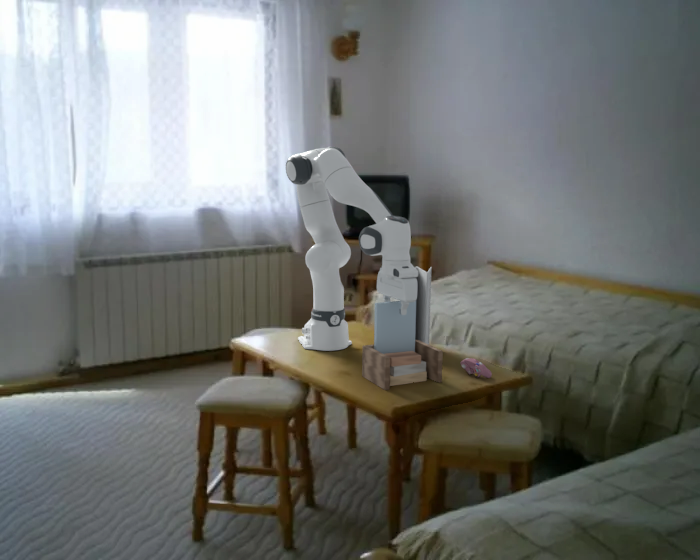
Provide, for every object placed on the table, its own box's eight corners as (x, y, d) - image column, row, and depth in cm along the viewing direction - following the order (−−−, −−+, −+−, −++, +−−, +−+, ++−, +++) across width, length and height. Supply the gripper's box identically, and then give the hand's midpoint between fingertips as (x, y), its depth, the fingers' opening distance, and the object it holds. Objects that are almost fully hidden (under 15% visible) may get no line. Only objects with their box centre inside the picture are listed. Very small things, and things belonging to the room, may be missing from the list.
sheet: (373, 377, 232) (374, 302, 228) (411, 371, 238) (413, 299, 234) (375, 378, 230) (377, 303, 226) (414, 373, 236) (416, 300, 232)
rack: (362, 376, 232) (362, 345, 231) (416, 369, 241) (417, 339, 239) (384, 390, 219) (385, 357, 217) (441, 382, 227) (442, 350, 226)
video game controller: (462, 376, 238) (456, 359, 236) (471, 368, 240) (465, 351, 237) (484, 384, 230) (478, 367, 228) (494, 376, 232) (487, 358, 230)
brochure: (425, 357, 255) (427, 272, 250) (409, 356, 256) (411, 272, 251) (429, 347, 268) (431, 266, 263) (414, 346, 269) (416, 266, 264)
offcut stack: (379, 380, 229) (380, 354, 228) (415, 375, 235) (416, 349, 233) (390, 386, 223) (391, 359, 221) (427, 381, 228) (427, 355, 227)
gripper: (372, 264, 236) (371, 306, 238) (403, 273, 218) (402, 318, 220) (389, 263, 239) (388, 304, 241) (421, 272, 221) (420, 317, 223)
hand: (395, 311), depth 231 cm, fingers open, 8 cm apart
